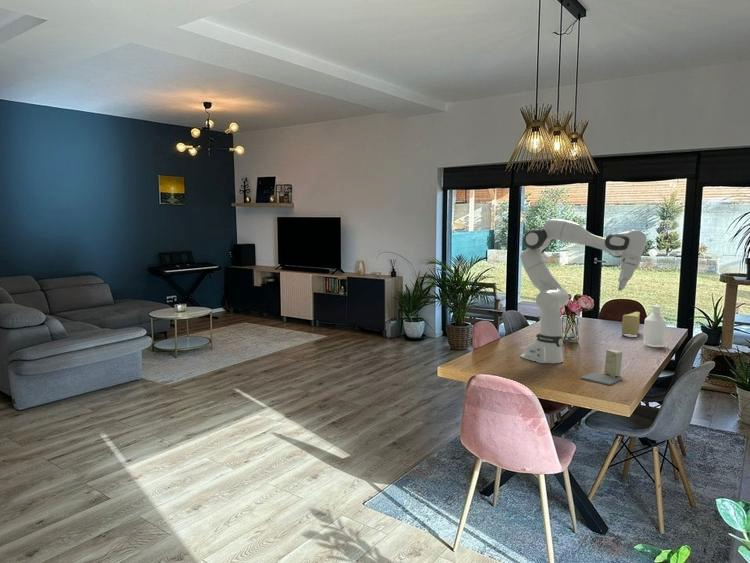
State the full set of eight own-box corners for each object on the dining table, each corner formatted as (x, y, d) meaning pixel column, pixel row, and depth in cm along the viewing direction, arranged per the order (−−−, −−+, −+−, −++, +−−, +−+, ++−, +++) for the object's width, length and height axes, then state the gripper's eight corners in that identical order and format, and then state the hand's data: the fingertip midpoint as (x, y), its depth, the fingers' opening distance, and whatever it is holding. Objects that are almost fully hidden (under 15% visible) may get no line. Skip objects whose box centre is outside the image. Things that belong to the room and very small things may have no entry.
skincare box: (604, 373, 266) (605, 349, 265) (610, 373, 268) (612, 349, 267) (614, 377, 261) (616, 352, 259) (621, 376, 262) (622, 351, 261)
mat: (580, 378, 257) (580, 377, 257) (593, 373, 266) (594, 372, 266) (609, 385, 246) (609, 383, 246) (622, 380, 256) (622, 378, 256)
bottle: (659, 344, 339) (662, 304, 336) (667, 348, 327) (670, 307, 324) (639, 343, 340) (642, 304, 337) (647, 347, 328) (650, 306, 325)
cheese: (629, 331, 379) (631, 310, 377) (644, 333, 372) (646, 312, 371) (620, 336, 361) (622, 314, 360) (636, 338, 355) (638, 316, 354)
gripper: (620, 264, 276) (611, 289, 276) (625, 257, 256) (616, 285, 256) (633, 267, 274) (624, 293, 274) (639, 261, 254) (630, 289, 254)
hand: (620, 289), depth 265 cm, fingers open, 8 cm apart
